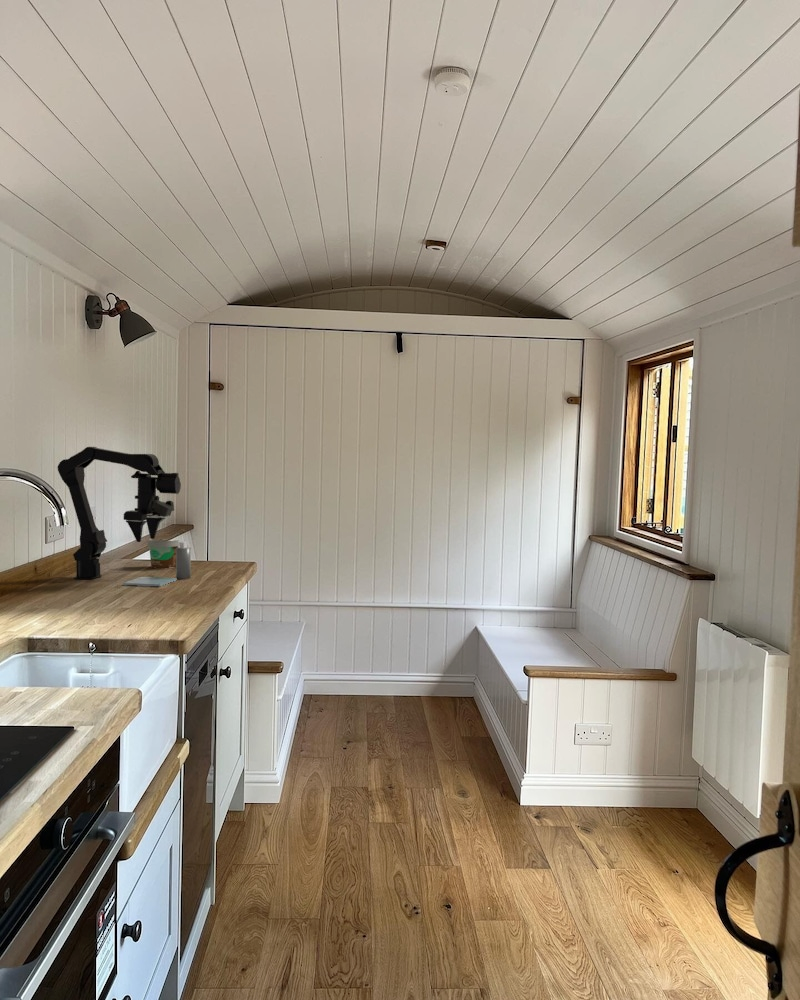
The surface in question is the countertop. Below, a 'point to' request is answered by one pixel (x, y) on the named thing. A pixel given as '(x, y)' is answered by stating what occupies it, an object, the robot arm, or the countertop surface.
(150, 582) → the coaster
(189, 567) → the grey tall rounded piece
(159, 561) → the food container
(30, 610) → the countertop surface
